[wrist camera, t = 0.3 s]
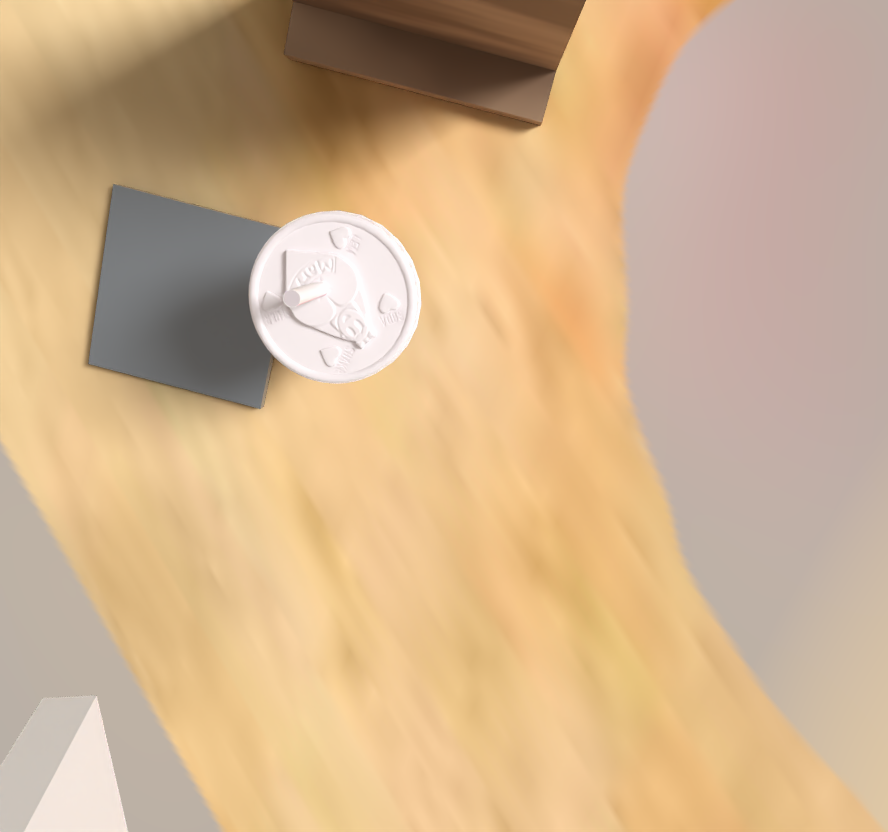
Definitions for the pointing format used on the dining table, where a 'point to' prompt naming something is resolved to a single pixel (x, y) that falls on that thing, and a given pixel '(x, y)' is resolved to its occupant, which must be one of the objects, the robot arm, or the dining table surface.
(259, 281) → the smoothie
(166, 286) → the coaster
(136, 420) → the dining table surface
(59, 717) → the robot arm
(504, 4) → the screen
